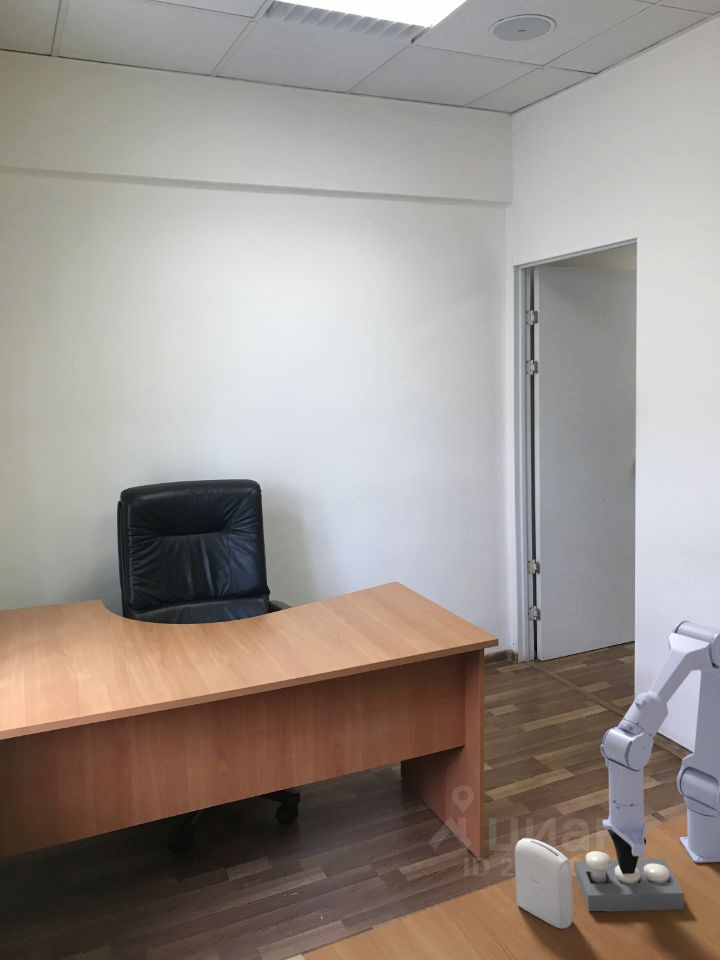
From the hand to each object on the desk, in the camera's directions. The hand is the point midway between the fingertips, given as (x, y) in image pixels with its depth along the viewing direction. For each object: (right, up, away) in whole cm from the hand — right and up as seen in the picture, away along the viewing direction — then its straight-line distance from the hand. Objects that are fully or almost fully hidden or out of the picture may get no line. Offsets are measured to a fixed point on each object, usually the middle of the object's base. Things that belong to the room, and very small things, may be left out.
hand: (627, 871), depth 142 cm
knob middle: (0, -4, +1) cm, 4 cm away
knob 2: (+5, -4, 0) cm, 6 cm away
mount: (0, -4, 0) cm, 4 cm away
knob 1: (-5, -2, 0) cm, 5 cm away
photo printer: (-15, -5, -4) cm, 17 cm away
